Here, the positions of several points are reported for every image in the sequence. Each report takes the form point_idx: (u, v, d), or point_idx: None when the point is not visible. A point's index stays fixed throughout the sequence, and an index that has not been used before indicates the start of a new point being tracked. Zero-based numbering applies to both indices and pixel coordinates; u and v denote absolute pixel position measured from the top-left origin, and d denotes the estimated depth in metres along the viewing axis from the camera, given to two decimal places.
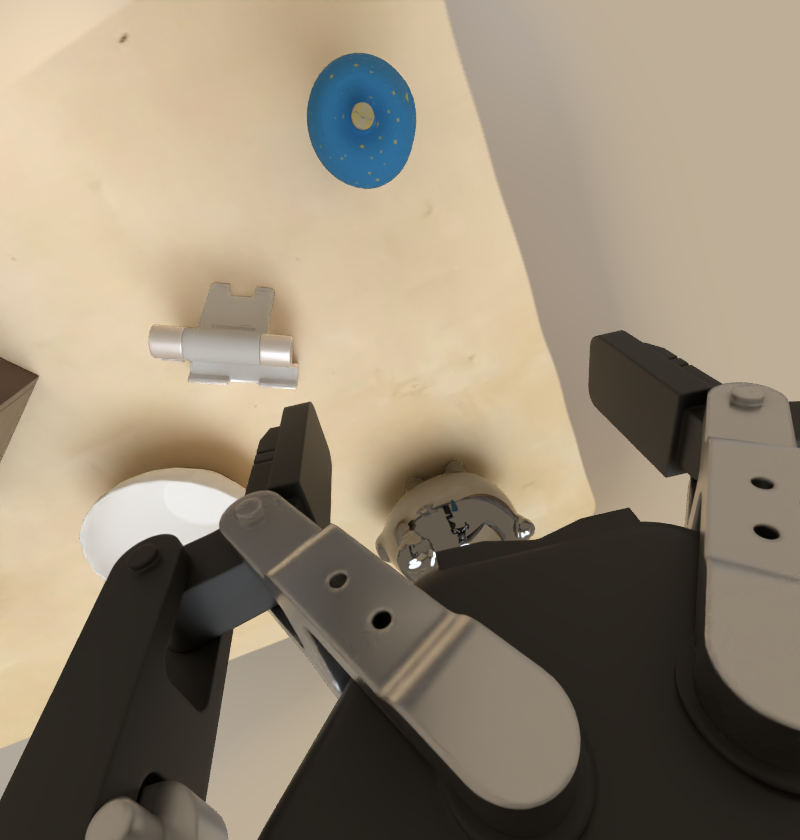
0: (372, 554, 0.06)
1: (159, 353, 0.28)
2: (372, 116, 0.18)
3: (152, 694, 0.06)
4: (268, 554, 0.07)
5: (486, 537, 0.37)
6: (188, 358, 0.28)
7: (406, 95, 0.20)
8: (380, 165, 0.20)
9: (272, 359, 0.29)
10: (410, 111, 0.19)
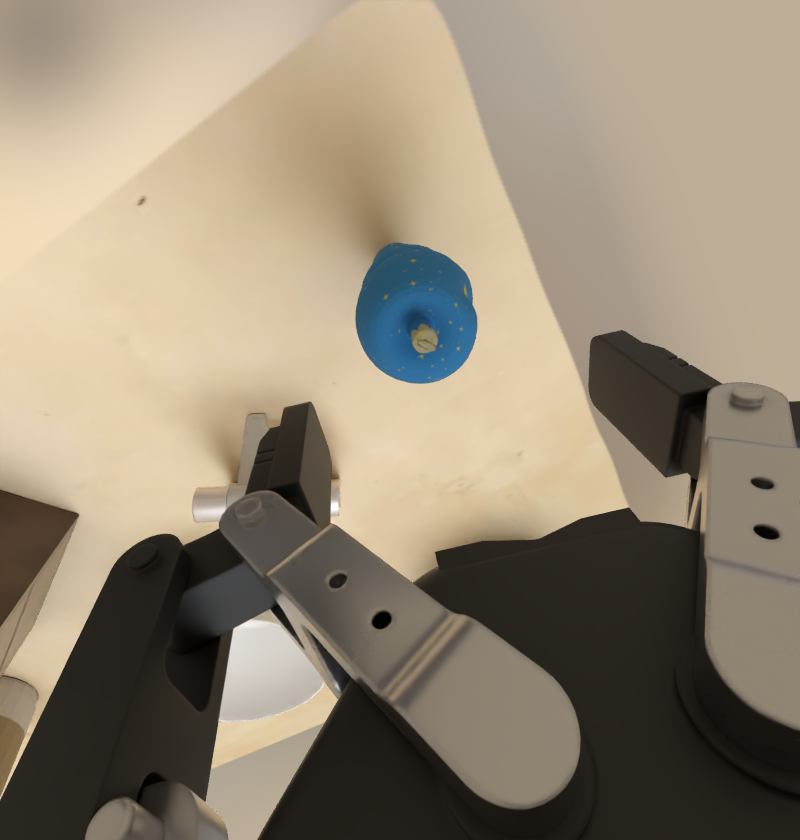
0: (372, 554, 0.06)
1: (204, 520, 0.27)
2: (435, 340, 0.16)
3: (152, 694, 0.06)
4: (268, 554, 0.07)
5: None
6: None
7: (464, 287, 0.18)
8: (441, 370, 0.18)
9: None
10: (474, 315, 0.17)
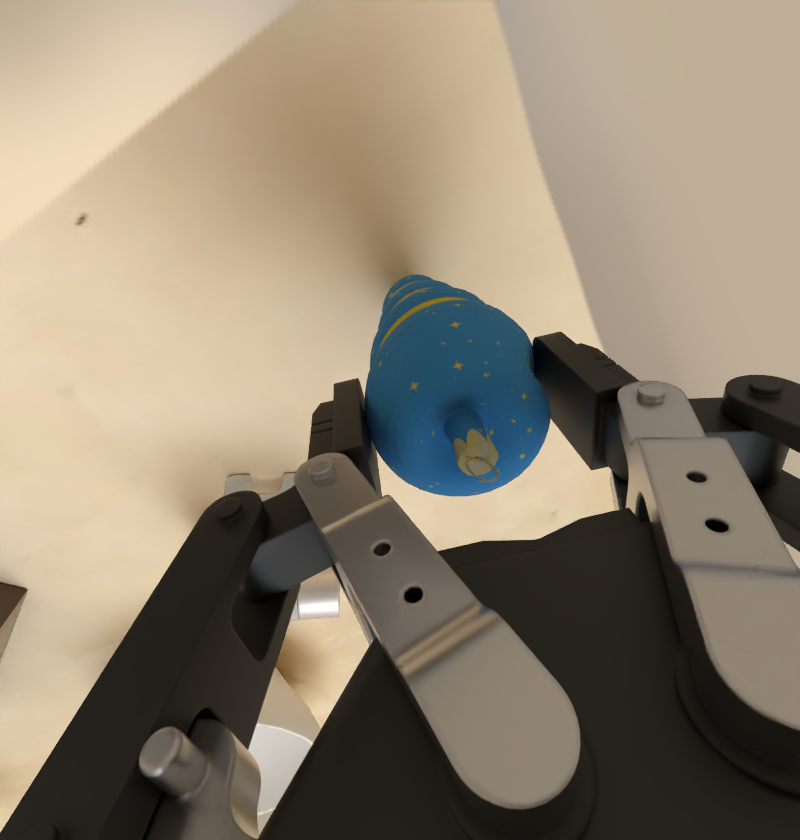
0: (419, 531, 0.06)
1: None
2: (495, 457, 0.10)
3: (216, 638, 0.07)
4: (329, 512, 0.08)
5: None
6: None
7: (528, 358, 0.12)
8: (494, 484, 0.12)
9: (316, 616, 0.21)
10: (547, 406, 0.11)
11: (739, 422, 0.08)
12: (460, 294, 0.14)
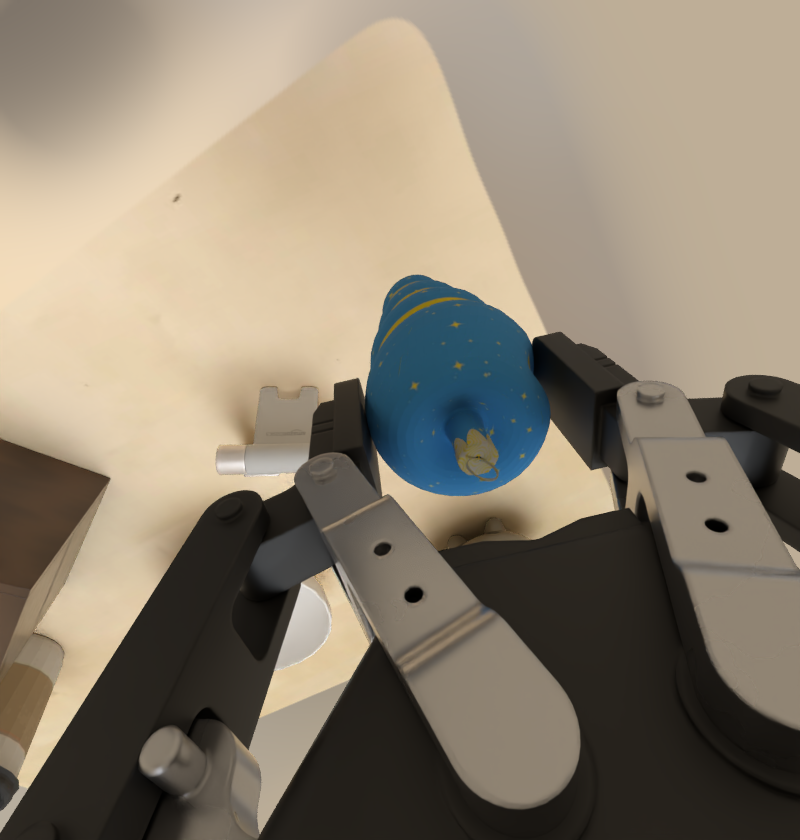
0: (419, 531, 0.06)
1: (225, 472, 0.31)
2: (495, 457, 0.10)
3: (216, 638, 0.07)
4: (330, 512, 0.08)
5: None
6: (250, 473, 0.31)
7: (528, 358, 0.12)
8: (494, 483, 0.12)
9: None
10: (547, 406, 0.11)
11: (739, 422, 0.08)
12: (460, 294, 0.14)
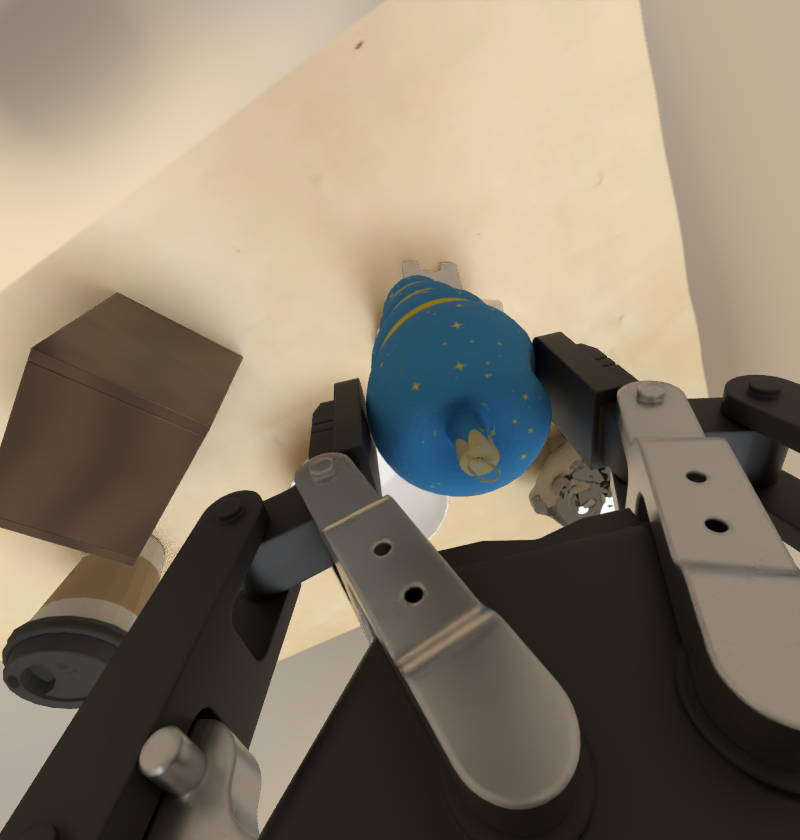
0: (419, 531, 0.06)
1: None
2: (496, 458, 0.10)
3: (216, 638, 0.07)
4: (330, 511, 0.08)
5: None
6: None
7: (529, 359, 0.12)
8: (495, 484, 0.12)
9: None
10: (549, 406, 0.11)
11: (739, 423, 0.08)
12: (461, 295, 0.14)
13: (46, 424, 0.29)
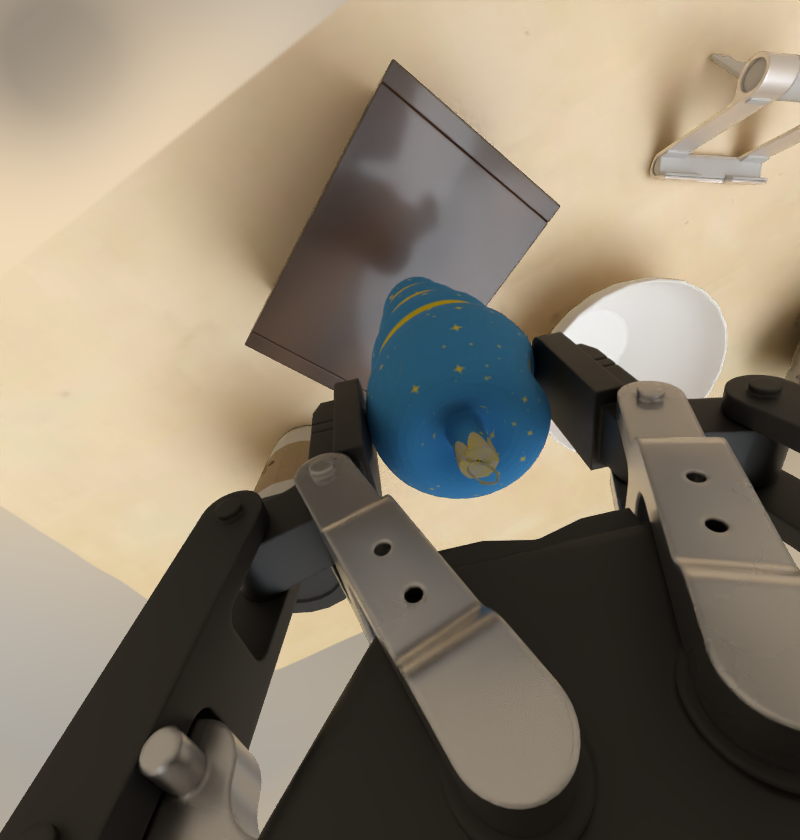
0: (419, 531, 0.06)
1: (770, 82, 0.25)
2: (495, 460, 0.10)
3: (216, 638, 0.07)
4: (330, 511, 0.08)
5: None
6: (791, 90, 0.26)
7: (528, 361, 0.12)
8: (495, 486, 0.12)
9: None
10: (548, 409, 0.11)
11: (739, 422, 0.08)
12: (461, 297, 0.14)
13: (371, 192, 0.22)
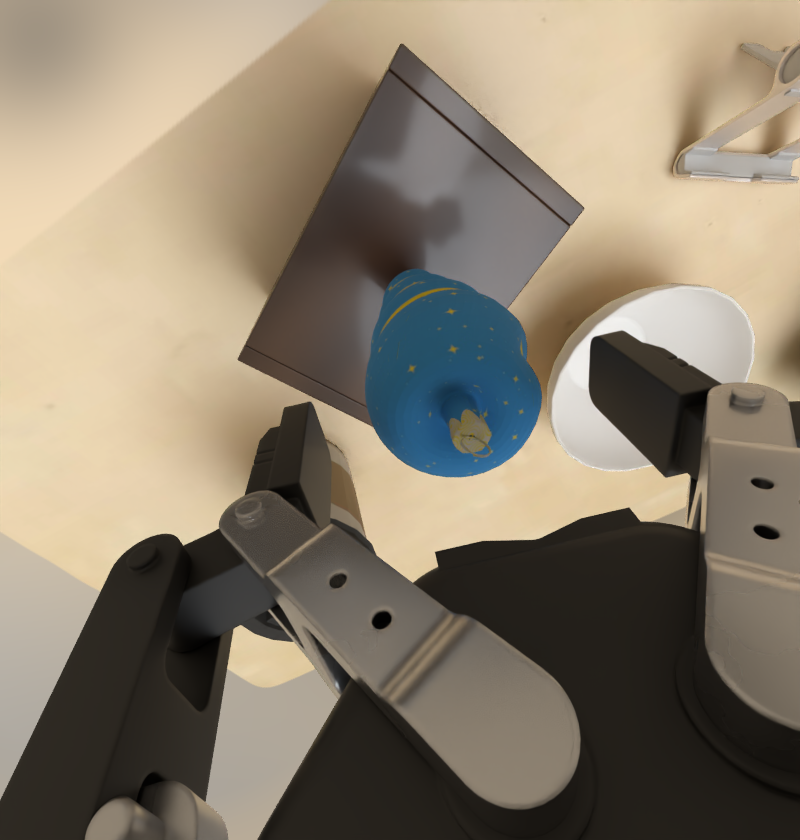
0: (372, 554, 0.06)
1: None
2: (487, 436, 0.10)
3: (152, 694, 0.06)
4: (268, 554, 0.07)
5: None
6: None
7: (520, 345, 0.12)
8: (488, 464, 0.12)
9: None
10: (539, 389, 0.11)
11: None
12: (456, 285, 0.14)
13: (376, 193, 0.20)
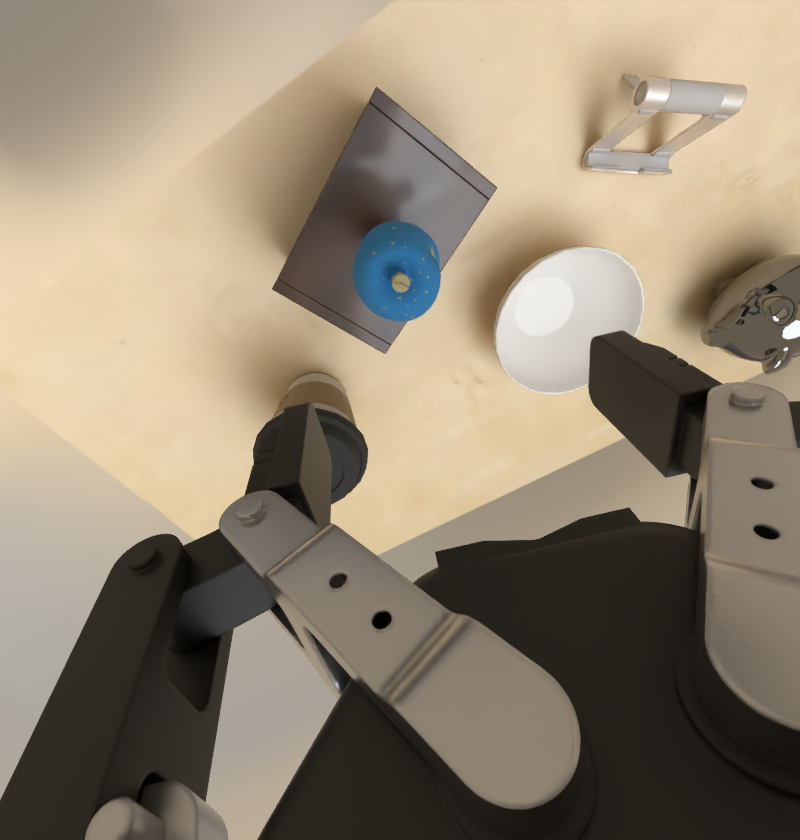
0: (372, 554, 0.06)
1: (651, 98, 0.35)
2: (408, 283, 0.22)
3: (152, 694, 0.06)
4: (268, 554, 0.07)
5: None
6: (668, 104, 0.35)
7: (431, 249, 0.24)
8: (414, 309, 0.24)
9: (732, 101, 0.36)
10: (437, 267, 0.24)
11: None
12: None
13: (362, 177, 0.32)
